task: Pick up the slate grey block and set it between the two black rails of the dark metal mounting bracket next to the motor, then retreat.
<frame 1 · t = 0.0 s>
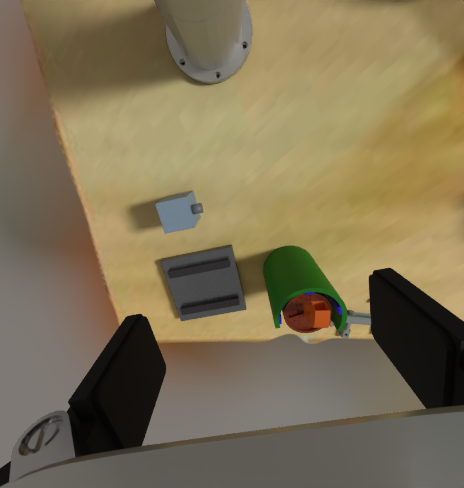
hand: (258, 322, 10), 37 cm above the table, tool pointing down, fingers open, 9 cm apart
motor: (288, 266, 50), on the table
slate grey block: (183, 206, 46), on the table
clamp: (362, 315, 54), on the table
mounting bracket: (205, 282, 51), on the table
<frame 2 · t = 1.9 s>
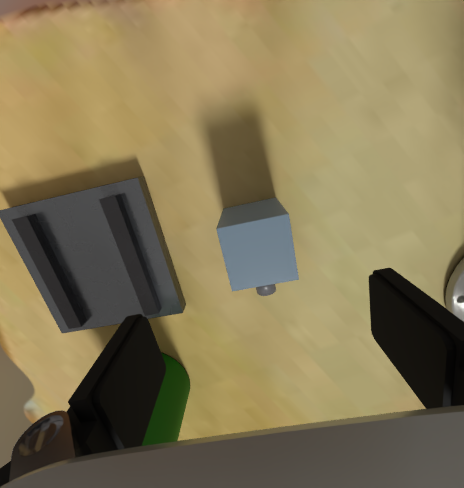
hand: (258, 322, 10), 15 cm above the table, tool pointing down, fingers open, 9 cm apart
motor: (155, 379, 32), on the table
slate grey block: (254, 228, 24), on the table
mounting bracket: (103, 259, 26), on the table
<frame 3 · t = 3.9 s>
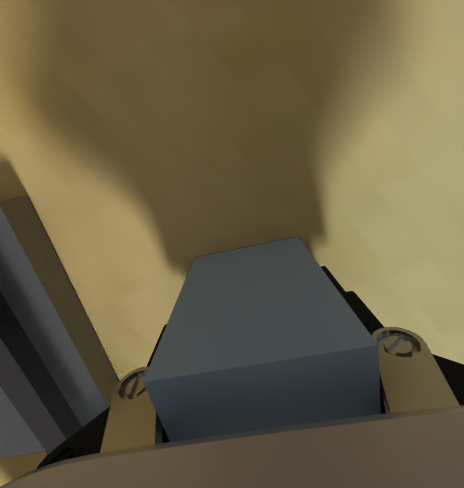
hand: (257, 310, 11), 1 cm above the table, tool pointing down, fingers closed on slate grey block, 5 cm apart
slate grey block: (255, 292, 13), on the table, touching gripper
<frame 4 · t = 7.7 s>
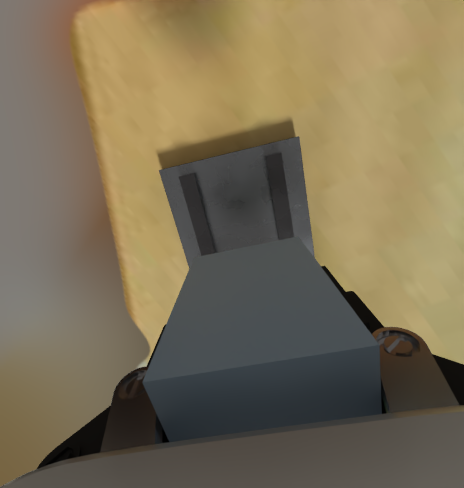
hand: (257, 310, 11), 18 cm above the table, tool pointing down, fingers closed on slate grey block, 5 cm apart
slate grey block: (255, 292, 13), point 16 cm above the table, touching gripper
mounting bracket: (241, 218, 28), on the table
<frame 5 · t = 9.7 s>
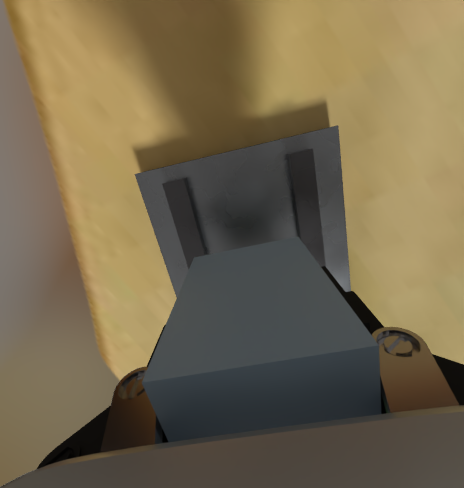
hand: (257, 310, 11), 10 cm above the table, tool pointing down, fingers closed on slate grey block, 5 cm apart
slate grey block: (255, 292, 13), point 8 cm above the table, touching gripper
mounting bracket: (251, 240, 20), on the table
when the fingers open (3 cm above the table, at t = 11.6 s): slate grey block stays where it is, resting on mounting bracket.
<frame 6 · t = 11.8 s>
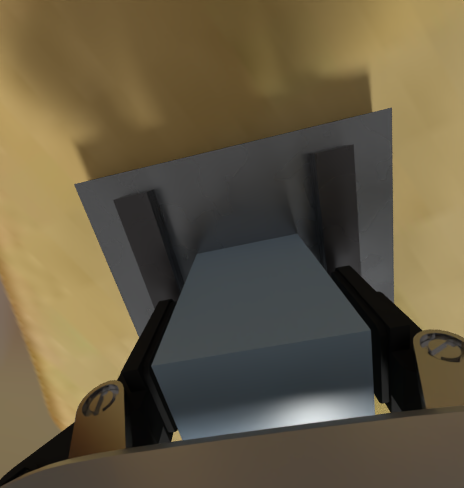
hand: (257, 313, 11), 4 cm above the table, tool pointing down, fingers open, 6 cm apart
slate grey block: (255, 288, 13), point 1 cm above the table, touching mounting bracket
mounting bracket: (252, 275, 14), on the table
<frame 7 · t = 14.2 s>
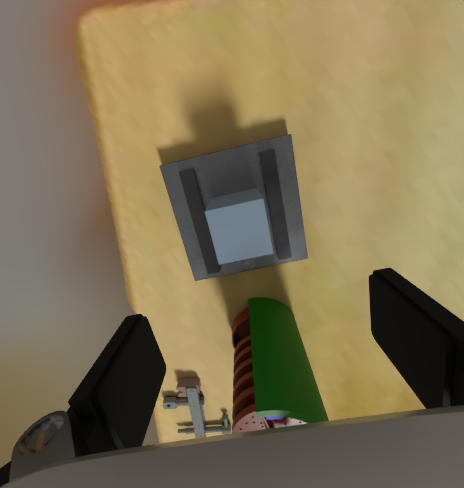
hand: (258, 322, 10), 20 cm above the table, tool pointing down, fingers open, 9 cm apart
motor: (263, 327, 35), on the table
slate grey block: (238, 214, 28), point 1 cm above the table, touching mounting bracket
clamp: (199, 408, 42), on the table
mounting bracket: (238, 212, 30), on the table
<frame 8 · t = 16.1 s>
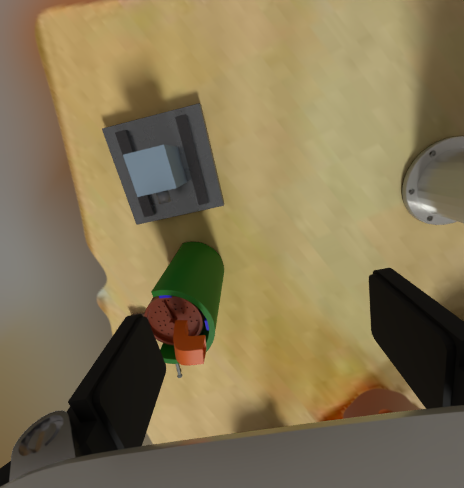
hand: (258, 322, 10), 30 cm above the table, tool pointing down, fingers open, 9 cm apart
motor: (198, 268, 43), on the table
slate grey block: (166, 168, 36), point 1 cm above the table, touching mounting bracket
mounting bracket: (168, 168, 38), on the table
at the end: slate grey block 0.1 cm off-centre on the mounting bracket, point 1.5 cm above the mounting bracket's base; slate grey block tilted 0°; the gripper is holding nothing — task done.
